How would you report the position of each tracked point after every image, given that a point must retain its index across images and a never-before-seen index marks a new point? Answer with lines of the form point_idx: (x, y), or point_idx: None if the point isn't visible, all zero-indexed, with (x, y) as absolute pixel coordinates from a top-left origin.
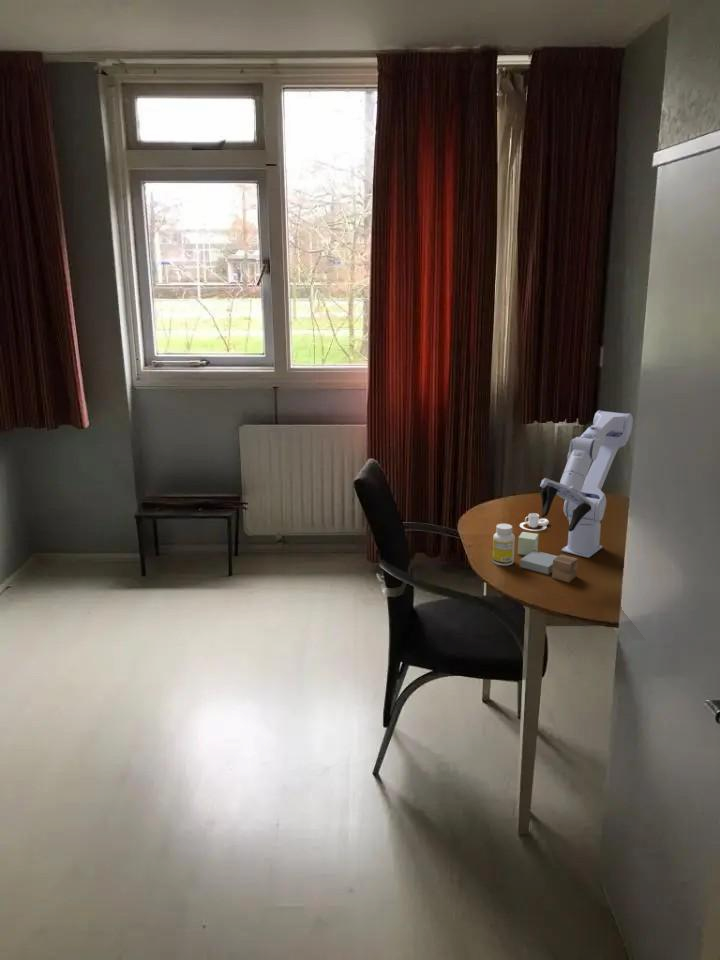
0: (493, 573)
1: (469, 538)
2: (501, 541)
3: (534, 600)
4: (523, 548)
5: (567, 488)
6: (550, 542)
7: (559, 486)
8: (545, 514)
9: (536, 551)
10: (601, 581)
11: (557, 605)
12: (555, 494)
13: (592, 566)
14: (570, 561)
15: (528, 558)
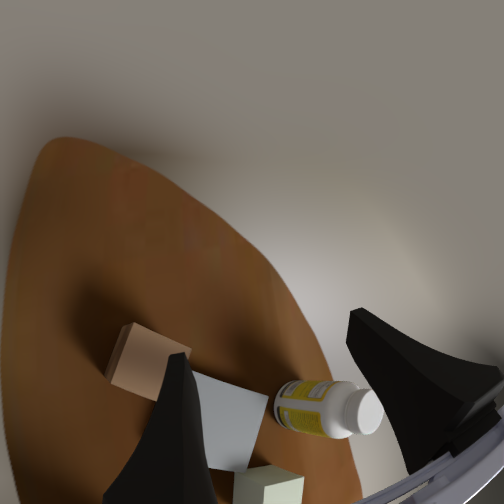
0: (298, 332)
1: (356, 478)
2: (343, 381)
3: (201, 203)
4: (271, 472)
5: (434, 497)
6: None
7: (469, 469)
8: (359, 309)
9: (239, 467)
10: (30, 352)
11: (152, 181)
12: (441, 387)
13: (68, 460)
14: (133, 349)
15: (251, 412)
